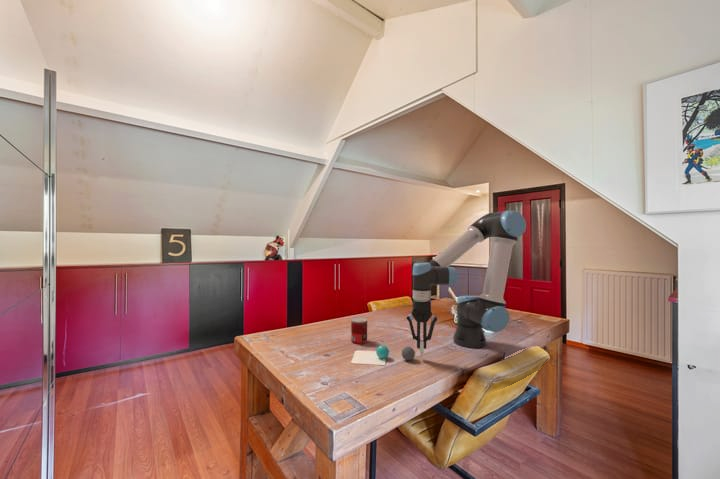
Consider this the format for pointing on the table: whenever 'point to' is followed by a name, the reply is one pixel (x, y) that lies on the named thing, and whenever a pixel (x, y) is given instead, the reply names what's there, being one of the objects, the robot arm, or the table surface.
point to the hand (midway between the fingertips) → (421, 355)
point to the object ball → (382, 352)
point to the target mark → (367, 358)
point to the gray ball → (408, 353)
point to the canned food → (359, 330)
